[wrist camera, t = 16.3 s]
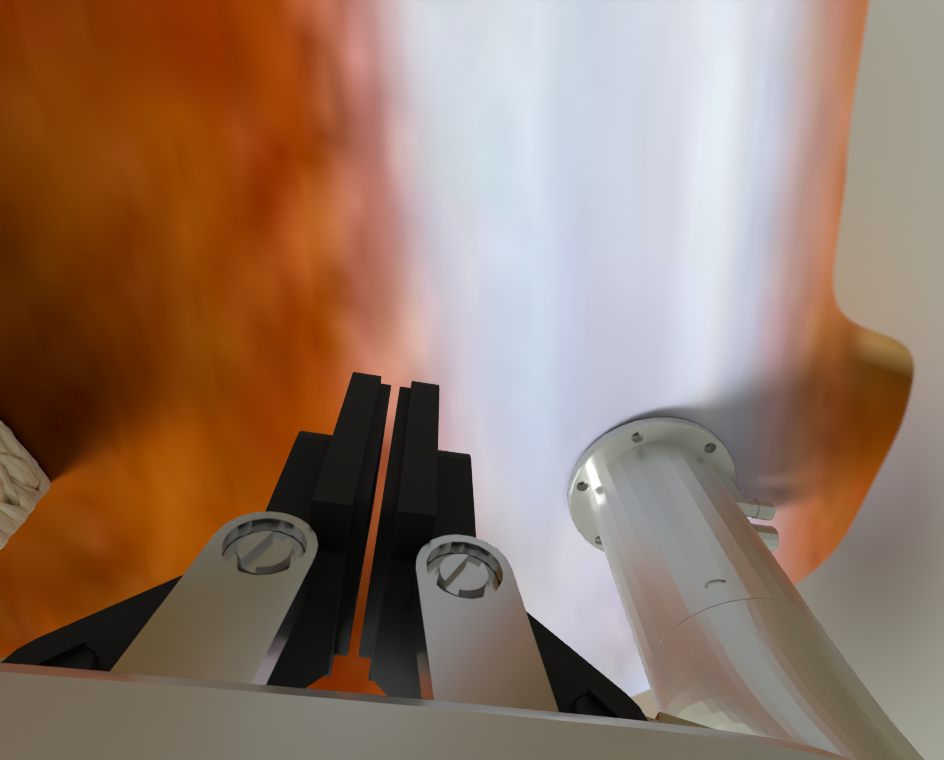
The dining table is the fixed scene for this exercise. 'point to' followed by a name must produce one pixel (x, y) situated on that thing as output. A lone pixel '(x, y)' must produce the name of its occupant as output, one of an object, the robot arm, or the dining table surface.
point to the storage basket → (17, 484)
